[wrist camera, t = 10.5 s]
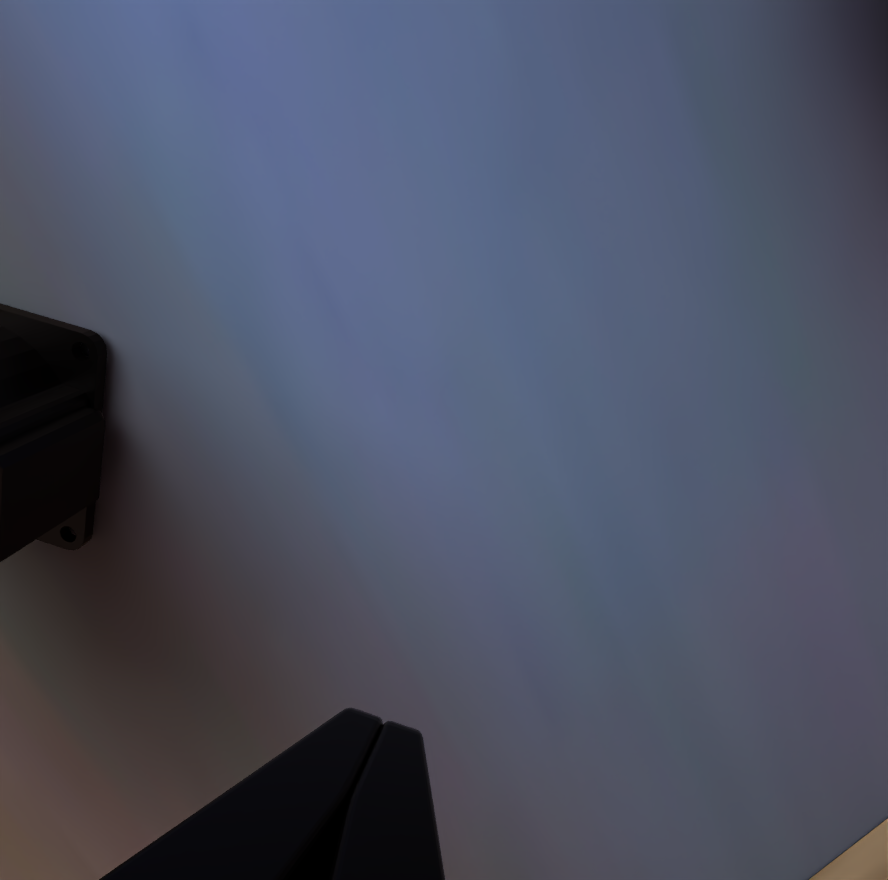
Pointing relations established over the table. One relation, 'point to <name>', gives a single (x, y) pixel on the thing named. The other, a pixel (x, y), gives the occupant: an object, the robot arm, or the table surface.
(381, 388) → the table surface
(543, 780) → the table surface
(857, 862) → the tunnel deck
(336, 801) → the robot arm
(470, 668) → the table surface
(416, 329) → the table surface
